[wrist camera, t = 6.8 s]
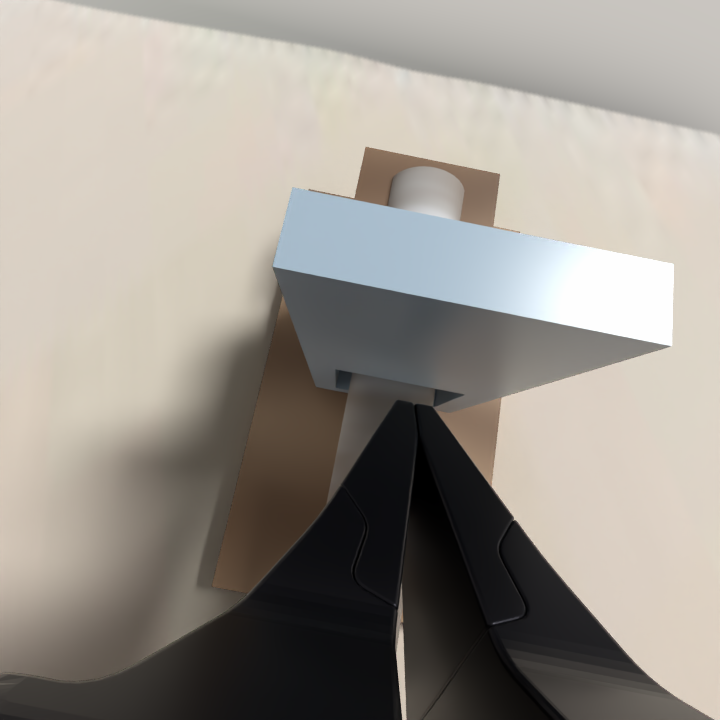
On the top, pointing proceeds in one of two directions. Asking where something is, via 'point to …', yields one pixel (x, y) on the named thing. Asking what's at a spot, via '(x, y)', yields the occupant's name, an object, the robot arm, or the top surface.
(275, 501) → the pipe stand
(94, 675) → the top surface
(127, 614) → the top surface
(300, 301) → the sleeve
